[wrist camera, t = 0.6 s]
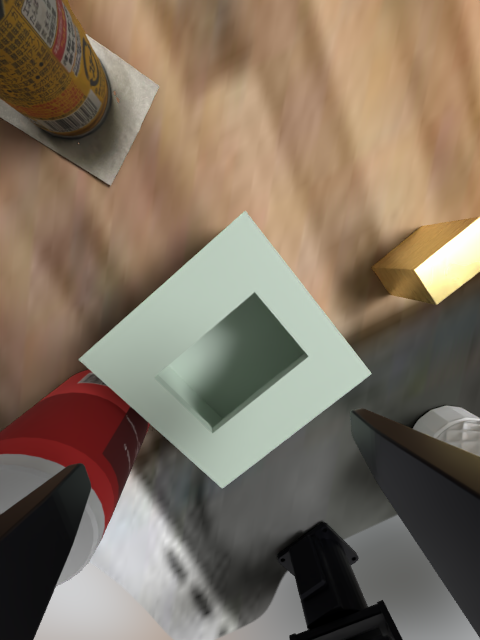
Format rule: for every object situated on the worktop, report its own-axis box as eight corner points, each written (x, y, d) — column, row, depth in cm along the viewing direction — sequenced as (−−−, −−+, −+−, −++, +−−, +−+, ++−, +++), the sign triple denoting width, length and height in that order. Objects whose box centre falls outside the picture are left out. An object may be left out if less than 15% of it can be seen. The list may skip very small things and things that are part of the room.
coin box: (326, 339, 23) (371, 373, 16) (221, 423, 24) (222, 488, 17) (236, 227, 20) (245, 210, 13) (124, 327, 21) (78, 359, 14)
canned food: (40, 389, 22) (-131, 514, 11) (124, 347, 22) (31, 434, 11) (93, 457, 24) (-11, 620, 13) (171, 419, 23) (130, 554, 13)
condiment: (35, -2, 16) (-436, -667, 5) (160, 88, 18) (44, -240, 6) (-8, 112, 17) (-474, -187, 6) (112, 187, 19) (-62, 71, 7)
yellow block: (438, 255, 22) (500, 254, 17) (389, 294, 22) (436, 304, 17) (420, 226, 21) (480, 216, 16) (370, 267, 22) (414, 269, 17)
